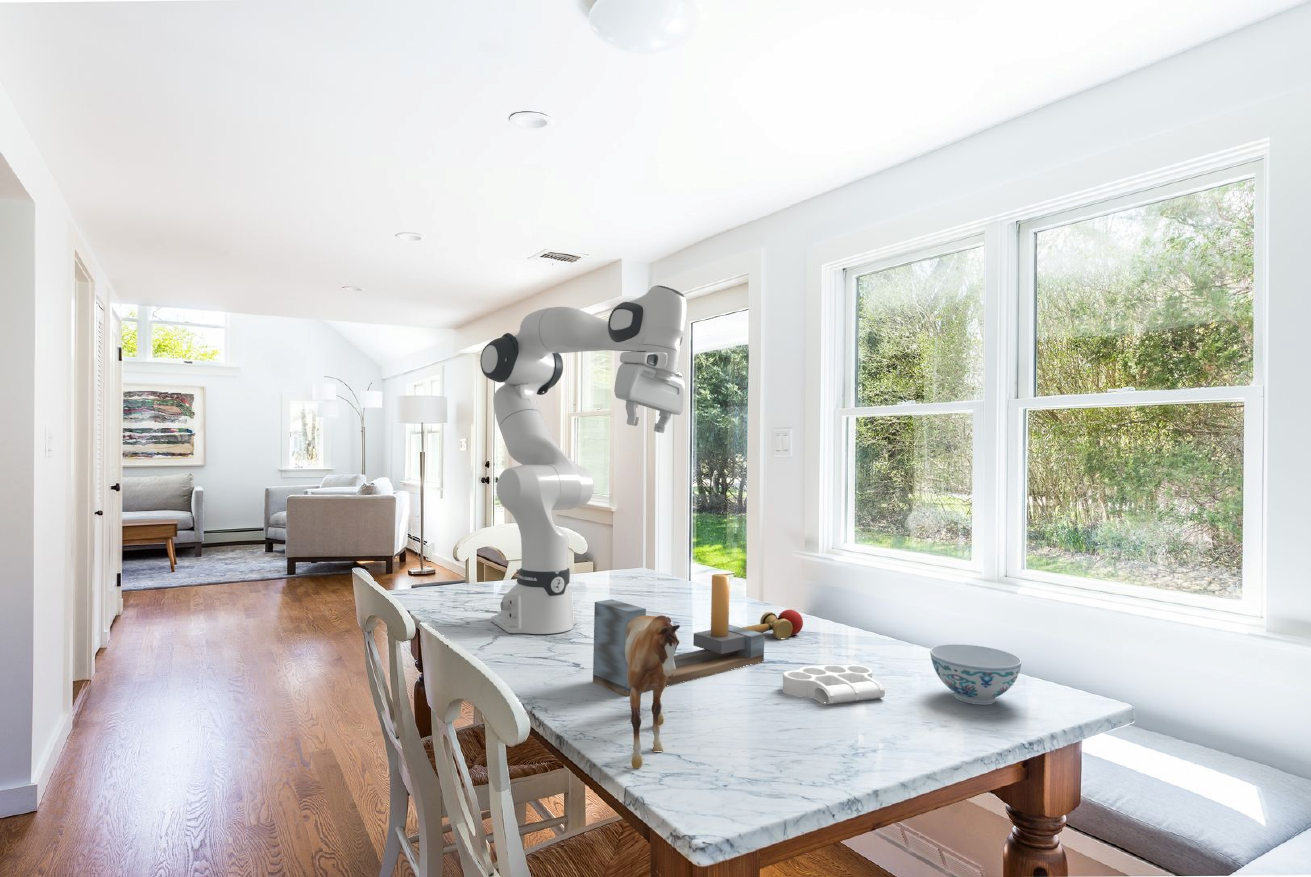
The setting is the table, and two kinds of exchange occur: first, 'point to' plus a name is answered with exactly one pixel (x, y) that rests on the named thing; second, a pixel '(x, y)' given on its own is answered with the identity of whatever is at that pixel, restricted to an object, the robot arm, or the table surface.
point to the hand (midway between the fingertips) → (645, 428)
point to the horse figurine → (649, 670)
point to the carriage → (719, 621)
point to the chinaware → (975, 671)
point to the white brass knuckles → (833, 683)
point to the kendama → (779, 624)
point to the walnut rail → (689, 666)
